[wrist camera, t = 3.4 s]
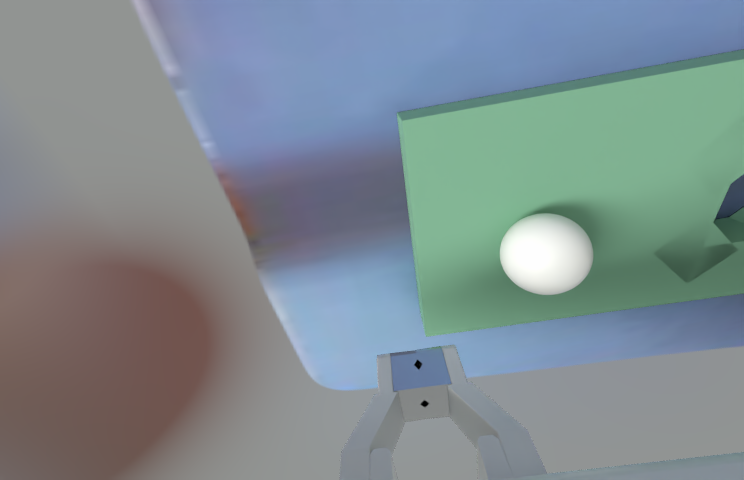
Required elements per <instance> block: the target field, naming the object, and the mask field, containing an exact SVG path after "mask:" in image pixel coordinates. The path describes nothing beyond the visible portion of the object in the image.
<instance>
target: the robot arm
mask: <svg viewBox="0 0 744 480" xmlns="http://www.w3.org/2000/svg"><path fill="white" fill-rule="evenodd" d="M377 373H378V394H375V395H374V396H373V398H372V400H371V402H370V403H369V405H368V407H367V409H366V410H365V412H364V414H363V416H362V417H361V419H360V420H359V422H358V424H357V426H356V427H355V429H354V431H353V432H352V434H351V436H350V438H349V439H348V441H347V443H346V445H345V446H344V448H343V450H342V451H341V467H340V480H398V478H397V474H396V470H395V466H394V462H393V458H392V454H393V451H394V449H395V447H396V444H397V442H398V439H399V437H400V434H401V432H402V429H403V427H404V422H409V421H416V420H422V419H430V418H440V417H450V418H451V419H452V420H453V421H454V423H455V424H456V425H457V426H458V427H459V429H460V430H461V431H462V432H463V433H464V434H465V436H466V437H467V438H468V439H469V440H470V442H471V443H472V444H473V445H474V446H475V447H476V449H477V479H478V480H744V452H741V453H732V454H723V455H713V456H704V457H695V458H687V459H677V460H669V461H660V462H650V463H641V464H632V465H624V466H615V467H605V468H596V469H587V470H578V471H569V472H560V473H551V474H547V472H546V470H545V468H544V465H543V463H542V461H541V459H540V457H539V455H538V453H537V450H536V448H535V446H534V443H533V441H532V439H531V437H530V435H529V432H528V431H527V429H526V428H525V427H523V426H522V425H521V424H520V423H519V422H518V421H517V420H515V419H514V418H513V417H512V416H511V415H510V414H508V413H507V412H506V411H505V410H504V409H503V408H501V407H500V406H499V405H498V404H497V403H496V402H494V401H493V400H492V399H491V398H490V397H489V396H487V395H486V394H485V393H484V392H483V391H482V390H480V389H479V388H478V387H477V386H476V385H475V384H473V383H472V382H467V379H466V376H465V373H464V370H463V367H462V364H461V361H460V358H459V355H458V352H457V349H456V347H455V345H448V346H441V347H440V346H439V347H432V348H426V349H419V350H415V351H407V352H398V353H390V354H381V355H377Z"/></svg>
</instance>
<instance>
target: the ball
mask: <svg viewBox="0 0 744 480" xmlns="http://www.w3.org/2000/svg"><path fill="white" fill-rule="evenodd" d="M500 261H501V264H502V267H503V269H504V271H505V273H506V275H507V276H508V277H509V278H510V279H511V281H512V282H514V283H515V284H516V285H517V286H519V287H521V288H522V289H524V290H526V291H529V292H532V293H535V294H541V295H555V294H560V293H563V292H566V291H569V290H571V289H573V288H574V287H576V286H577V285H579V284H580V283H581V282H582V281H583V280H584V279H585V277H586V276H587V275H588V273H589V271H590V269H591V266H592V263H593V248H592V244H591V241H590V239H589V237H588V235H587V234H586V232H585V231H584V230H583V229H582V228H581V227H580V226H579V225H578V224H577V223H575V222H574V221H572V220H571V219H568V218H566V217H564V216H561V215H557V214H550V213H541V214H534V215H531V216H528V217H525V218H523V219H521V220H519V221H518V222H516V223H515V224H514V225H512V226H511V227H510V228H509V230H508V231H507V232H506V234H505V235H504V237H503V239H502V242H501V246H500Z"/></svg>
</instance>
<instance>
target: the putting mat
mask: <svg viewBox="0 0 744 480" xmlns="http://www.w3.org/2000/svg"><path fill="white" fill-rule="evenodd" d="M397 118H398V127H399V135H400V144H401V152H402V161H403V169H404V178H405V187H406V195H407V204H408V212H409V221H410V229H411V238H412V246H413V255H414V263H415V272H416V280H417V289H418V297H419V306H420V313H421V317H422V321H423V326H424V330H425V334H426V337H427V336H435V335H442V334H449V333H457V332H464V331H472V330H479V329H486V328H494V327H501V326H508V325H516V324H523V323H530V322H538V321H545V320H552V319H560V318H567V317H574V316H582V315H589V314H596V313H604V312H611V311H618V310H626V309H633V308H640V307H648V306H655V305H663V304H670V303H677V302H685V301H692V300H699V299H707V298H714V297H721V296H729V295H736V294H743V293H744V207H743V208H741V209H740V210H738V211H737V212H736V213H734V214H733V215H731V216H730V217H728V218H721V219H715V218H716V215H717V213H718V211H719V209H720V207H721V204H722V202H723V200H724V198H725V195H726V193H727V191H728V189H729V187H730V184H731V183H732V182H734V181H735V180H736V179H738V178H739V177H740V176H742V175H743V174H744V49H743V50H737V51H732V52H727V53H721V54H716V55H710V56H705V57H699V58H694V59H688V60H683V61H677V62H672V63H666V64H661V65H655V66H650V67H644V68H639V69H633V70H628V71H622V72H617V73H611V74H606V75H600V76H595V77H589V78H584V79H578V80H573V81H567V82H562V83H557V84H551V85H546V86H540V87H535V88H529V89H524V90H518V91H513V92H507V93H502V94H496V95H491V96H485V97H480V98H474V99H469V100H463V101H458V102H452V103H447V104H441V105H436V106H430V107H425V108H419V109H414V110H408V111H403V112H398V113H397ZM541 213H550V214H557V215H561V216H564V217H566V218H568V219H571V220H572V221H574V222H575V223H577V224H578V225H579V226H580V227H581V228H582V229H583V230H584V231H585V232H586V234H587V235H588V237H589V239H590V241H591V244H592V248H593V263H592V266H591V269H590V271H589V273H588V275H587V276H586V277H585V279H584V280H583V281H582V282H581V283H580V284H579V285H577V286H576V287H574V288H573V289H571V290H569V291H566V292H563V293H560V294H555V295H541V294H535V293H532V292H529V291H526V290H524V289H522V288H521V287H519V286H517V285H516V284H515V283H514V282H512V281H511V279H510V278H509V277H508V276H507V275H506V273H505V271H504V269H503V267H502V264H501V261H500V246H501V242H502V239H503V237H504V235H505V234H506V232H507V231H508V230H509V228H510V227H511V226H512V225H514V224H515V223H516V222H518V221H519V220H521V219H523V218H525V217H528V216H531V215H534V214H541Z"/></svg>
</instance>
